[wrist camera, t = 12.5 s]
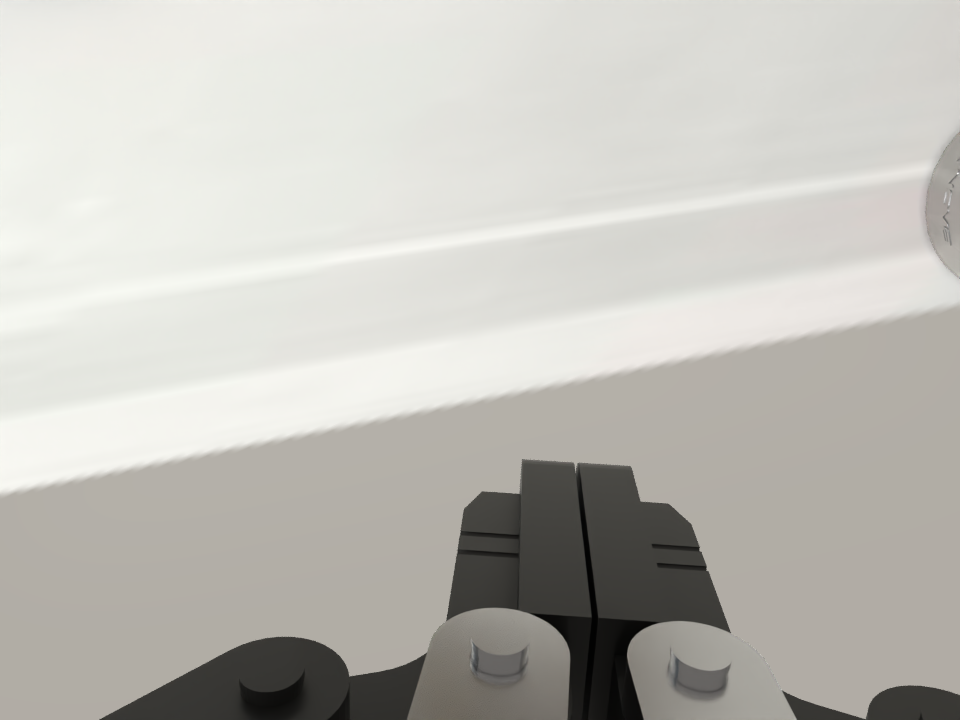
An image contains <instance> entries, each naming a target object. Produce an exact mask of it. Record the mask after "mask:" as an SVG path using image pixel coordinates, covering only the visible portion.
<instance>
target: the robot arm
mask: <svg viewBox="0 0 960 720" xmlns="http://www.w3.org/2000/svg"><path fill="white" fill-rule="evenodd" d="M925 212H926V220H927V229H928V234H929V236H930V239H931V242H932V245H933V247H934V250H935V252H936V253H937V255H938V256H939V258H940V259H941V260H942V262H943V263H944V265H945V266H946V267H947V268H948V269H949V270H950V271H951V272H952V273H954V274H955V275H956V276H957V277H958V278H959V279H960V132H959V133H958V134H957V135H956V136H955V138H954V139H953V140H952V141H951V143H950V144H949V145H948V146H947V147H946V149H945V151H944V153H943V155H942V156H941V158H940V160H939V162H938V164H937V165H936V167H935V169H934V172H933V175H932V179H931V182H930V185H929V188H928V193H927V202H926V211H925ZM699 548H700V547H699V545H698V541H697V539H696V536H695V533H694V530H693V528H692V525H691V524H690V523H689V522H688V521H687V520H686V519H685V518H684V517H683V516H682V515H680V514H679V513H678V512H677V511H676V510H675V509H674V508H673V507H672V506H670V505H669V504H664V503H650V502H640V498H639V494H638V490H637V487H636V483H635V479H634V475H633V471H632V468H631V467H630V466H620V465H604V464H588V463H578V464H577V468H576V474H575V466H574V463H571V462H556V461H540V460H525V459H522V467H521V480H520V494H512V493H497V492H481V493H480V494H479V495H478V496H477V497H476V498H475V499H474V500H473V501H472V502H471V503H470V504H469V505H468V506H467V507H466V508H465V509H464V513H463V519H462V525H461V533H460V538H459V544H458V553H457V557H456V563H455V570H454V576H453V583H452V589H451V595H450V601H449V608H448V614H447V620H446V622H445V623H443V624H442V625H441V626H440V627H439V628H438V629H437V631H436V632H435V633H434V635H433V637H432V639H431V641H430V644H429V648H428V651H427V653H426V654H424V655H423V656H421V657H420V658H418V659H417V660H414V661H412V662H410V663H408V664H406V665H403V666H400V667H397V668H394V669H390V670H385V671H381V672H376V673H369V674H363V675H356V676H350V677H349V673H348V669H347V667H346V665H345V663H344V661H343V660H342V659H341V657H340V656H339V655H338V654H336V652H334V651H333V650H332V649H330V648H328V647H327V646H325V645H323V644H320V643H318V642H316V641H312V640H308V639H304V638H296V637H274V638H265V639H261V640H256V641H252V642H249V643H246V644H243V645H241V646H238V647H236V648H234V649H232V650H230V651H228V652H226V653H224V654H222V655H220V656H218V657H216V658H215V659H213V660H211V661H209V662H207V663H206V664H203V665H201V666H200V667H198V668H196V669H194V670H192V671H190V672H188V673H186V674H184V675H183V676H181V677H179V678H177V679H175V680H173V681H171V682H169V683H167V684H166V685H164V686H162V687H160V688H158V689H156V690H154V691H152V692H151V693H149V694H147V695H145V696H143V697H141V698H139V699H137V700H136V701H134V702H132V703H130V704H128V705H126V706H124V707H122V708H120V709H119V710H117V711H115V712H113V713H111V714H109V715H107V716H105V717H104V718H102V719H100V720H960V695H957V694H954V693H952V692H948V691H945V690H941V689H936V688H930V687H924V686H899V687H894V688H890V689H887V690H885V691H883V692H881V693H879V694H878V695H877V696H876V697H874V698H873V700H872V701H871V703H870V705H869V708H868V713H867V717H866V719H862V718H859V717H856V716H852V715H849V714H846V713H842V712H839V711H836V710H832V709H829V708H825V707H822V706H819V705H815V704H813V703H810V702H807V701H804V700H801V699H798V698H796V697H794V696H792V695H790V694H787V693H786V692H784V691H782V690H781V688H780V686H779V685H778V683H777V681H776V679H775V677H774V675H773V673H772V671H771V669H770V667H769V666H768V664H767V663H766V661H765V659H764V658H763V657H762V656H761V655H760V654H759V653H758V652H757V651H756V650H755V649H754V648H753V647H752V646H750V645H749V644H748V643H746V642H745V641H743V640H742V639H740V638H739V637H737V636H735V635H733V634H731V632H730V629H729V627H728V624H727V621H726V618H725V616H724V613H723V610H722V607H721V605H720V602H719V599H718V596H717V594H716V591H715V588H714V586H713V583H712V580H711V577H710V574H709V572H708V571H706V563H705V561H704V558H703V555H702V552H700V551H699Z"/></svg>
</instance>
